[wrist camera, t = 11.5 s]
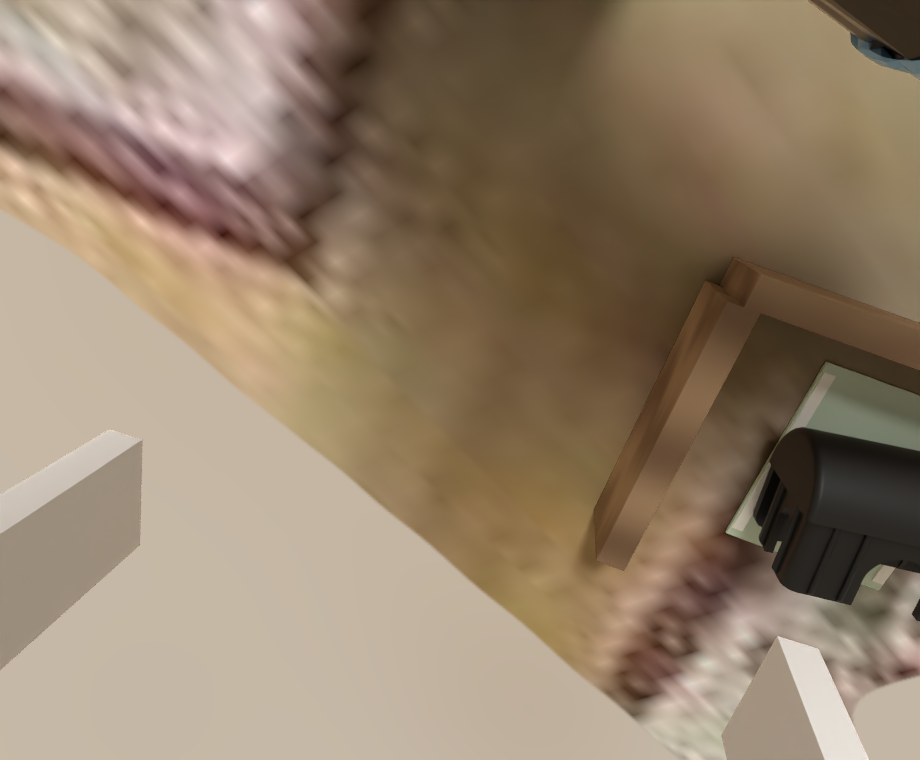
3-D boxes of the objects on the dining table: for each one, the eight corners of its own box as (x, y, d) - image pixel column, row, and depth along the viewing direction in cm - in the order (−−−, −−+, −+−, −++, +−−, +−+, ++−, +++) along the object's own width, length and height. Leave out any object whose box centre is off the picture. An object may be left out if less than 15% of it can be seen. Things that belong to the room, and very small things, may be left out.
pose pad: (825, 361, 32) (828, 362, 31) (998, 423, 31) (1002, 426, 31) (725, 531, 36) (726, 533, 36) (876, 588, 35) (879, 592, 35)
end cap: (987, 443, 31) (1090, 515, 25) (928, 559, 34) (1008, 650, 28) (783, 402, 32) (832, 460, 26) (740, 517, 35) (776, 595, 29)
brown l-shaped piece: (718, 252, 31) (744, 268, 26) (1071, 377, 30) (1162, 417, 25) (593, 509, 37) (596, 560, 32) (885, 621, 36) (930, 689, 31)
